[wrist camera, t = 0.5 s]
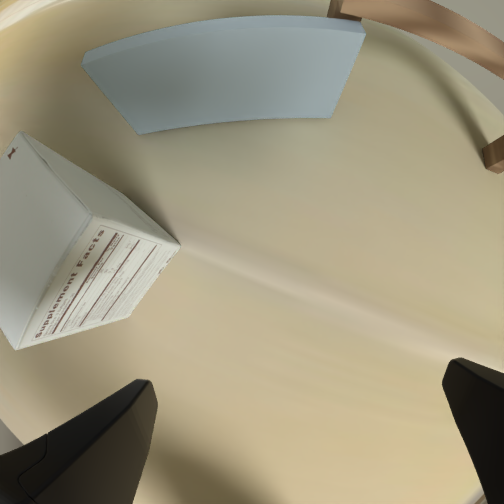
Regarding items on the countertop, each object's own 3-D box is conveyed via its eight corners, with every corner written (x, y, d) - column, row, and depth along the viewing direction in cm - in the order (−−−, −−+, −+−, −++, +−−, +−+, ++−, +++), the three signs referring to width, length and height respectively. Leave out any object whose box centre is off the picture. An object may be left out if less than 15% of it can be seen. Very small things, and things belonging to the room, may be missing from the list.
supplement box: (73, 260, 21) (-44, 245, 8) (122, 190, 21) (20, 122, 9) (129, 320, 21) (12, 356, 8) (185, 247, 21) (94, 209, 8)
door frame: (307, 122, 21) (346, -10, 8) (308, 85, 22) (338, -40, 8) (498, 174, 21) (584, 131, 7) (492, 141, 21) (568, 90, 8)
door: (325, 95, 21) (354, 10, 11) (330, 118, 21) (366, 34, 11) (140, 112, 21) (90, 39, 11) (138, 135, 21) (80, 65, 11)
